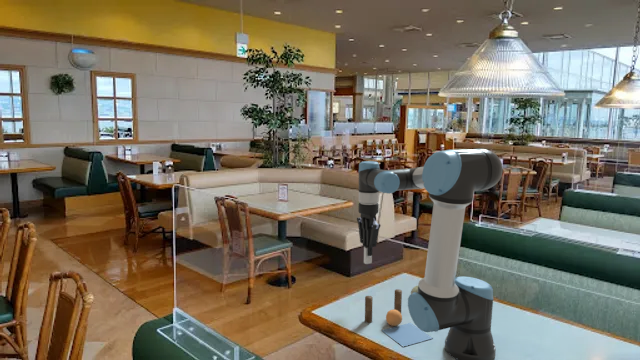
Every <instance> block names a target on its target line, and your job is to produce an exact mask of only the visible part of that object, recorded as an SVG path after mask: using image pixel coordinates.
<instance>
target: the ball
mask: <svg viewBox="0 0 640 360" xmlns="http://www.w3.org/2000/svg"><path fill="white" fill-rule="evenodd" d="M385 319H386V322H387V324H388V325H390V326H392V327H396V326H400V325H401V324H402V321H403V315H402V312H401V313H400V312H399V311H398V310H395V309H390V310H388V311H387V313H386V315H385Z"/></svg>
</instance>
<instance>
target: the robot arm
mask: <svg viewBox="0 0 640 360" xmlns="http://www.w3.org/2000/svg"><path fill="white" fill-rule="evenodd" d="M503 171H504V169H503V163H502V161H501V159H500V157H499V156H498V155H497V154H496V153H495V152H493V151H492V150H489V149H486V148H473V149H472V148H471V149H469V148H468V149H467V148H464V149H446V150H440V151H436V152H434V153H432V154H431V155H430V156H429V157H428V158H427V159H426V161H425V163H424V165H423V166H420V167H419V166H418V167H414V168H413V167H411V168H401V169H399V168H398V169H397V168H396V169H381V168H380V164H379V162H378V161H372V160H368V161H367V160H364V161H361V162H359V164H358V200H357V201H358V202H359V203H358V208H357V209H358V211H357V212H358V213H359V214H360V216H359V217H356V221H357V225H358V235H359V243H360V244H362V246H363V264H365V265H369V264H370V265H371V264H372V263H373V248H375V247H377V243H378V238H379V231H380V228H381V226H382V225H381V223H378V222H377V215H378V213H379V211H380V210H379V201H380V199H379V193H382V194H393V193H395V192H396V191H405V190H420V189H425V190H426V192H427V193H428V198H429V199H430V200H431V202H433V204H432V206H433V207H432V214H431V221H430V222H431V224H430V229H429V239H428V246H427V254H426V262H425V270H424V277H422V279H419V281H418V283H417V284H418V285H417V286H418V291H417V292H413V293H412V294H411V293H410V294H409V296H408V298H407V308H408V312H409V315H410V317H411V320H412V321H413V323H414V324H415V325H414V326H416V327H417V328H419V329H420V330H422V331H423V332H424V333H432V332H437V333H438V331H441V330H445V329H448V333H447V335H446V337H445V339H444V349H445V352H446V353H447V354H448V355H450V357H452V358H453V359H455V360H494V359H495V358H496V344H495V342H494V337H493V334H492V319H493V307H494V306H493V305H494V289H493V287H492V285H491V284H490V283H488V282H487V281H485V280H482V279H479V278H476V277H472V276H463V275H462V276H456V275H457V270H458V269H457V268H458V262H459V257H460V256H459V255H460V249H461V243H462V234H463V227H464V221H465V213H466V207H468V206H469V205H471V204H472V203H473V198H474V195H475V194H474V192H478V191H485V190H489V189H491V188H492V187H495V186H496V185H497V183H499V182H500V180H501V178H502V175H503Z"/></svg>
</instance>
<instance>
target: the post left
mask: <svg viewBox="0 0 640 360" xmlns="http://www.w3.org/2000/svg"><path fill="white" fill-rule="evenodd" d="M373 297H374V296H373V295H365V297H364V322H365V323H367V324H370V323H372V322H373Z"/></svg>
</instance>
